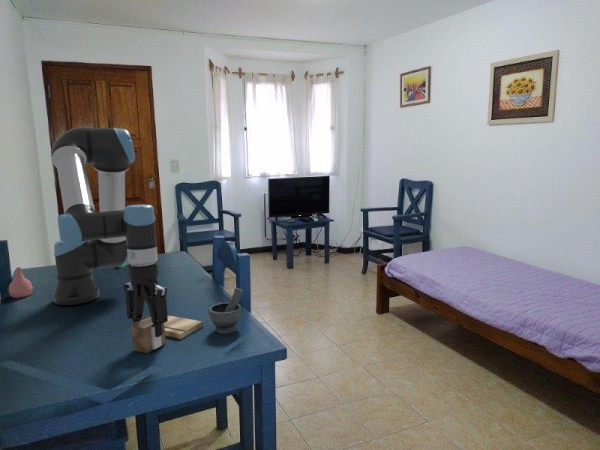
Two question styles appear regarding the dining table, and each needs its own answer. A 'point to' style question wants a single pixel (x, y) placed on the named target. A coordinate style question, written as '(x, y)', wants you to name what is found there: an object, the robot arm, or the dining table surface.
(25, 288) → the pink teardrop-shaped piece
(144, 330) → the wooden block
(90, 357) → the dining table surface
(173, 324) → the plank
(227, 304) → the mortar and pestle
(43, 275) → the dining table surface
